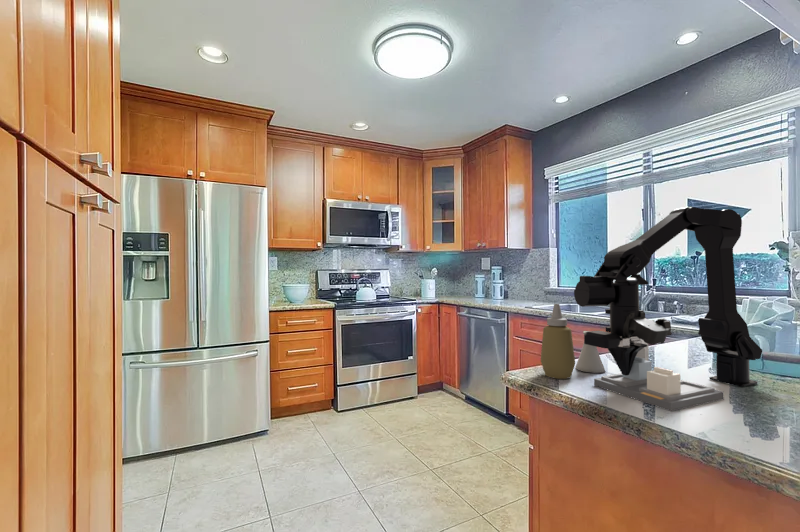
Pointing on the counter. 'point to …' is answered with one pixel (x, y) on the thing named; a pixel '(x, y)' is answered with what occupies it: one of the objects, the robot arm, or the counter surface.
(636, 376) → the tab blue
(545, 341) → the squeeze bottle
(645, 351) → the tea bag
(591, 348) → the flask
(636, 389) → the grey divided tray
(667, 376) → the tab ivory
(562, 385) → the counter surface
